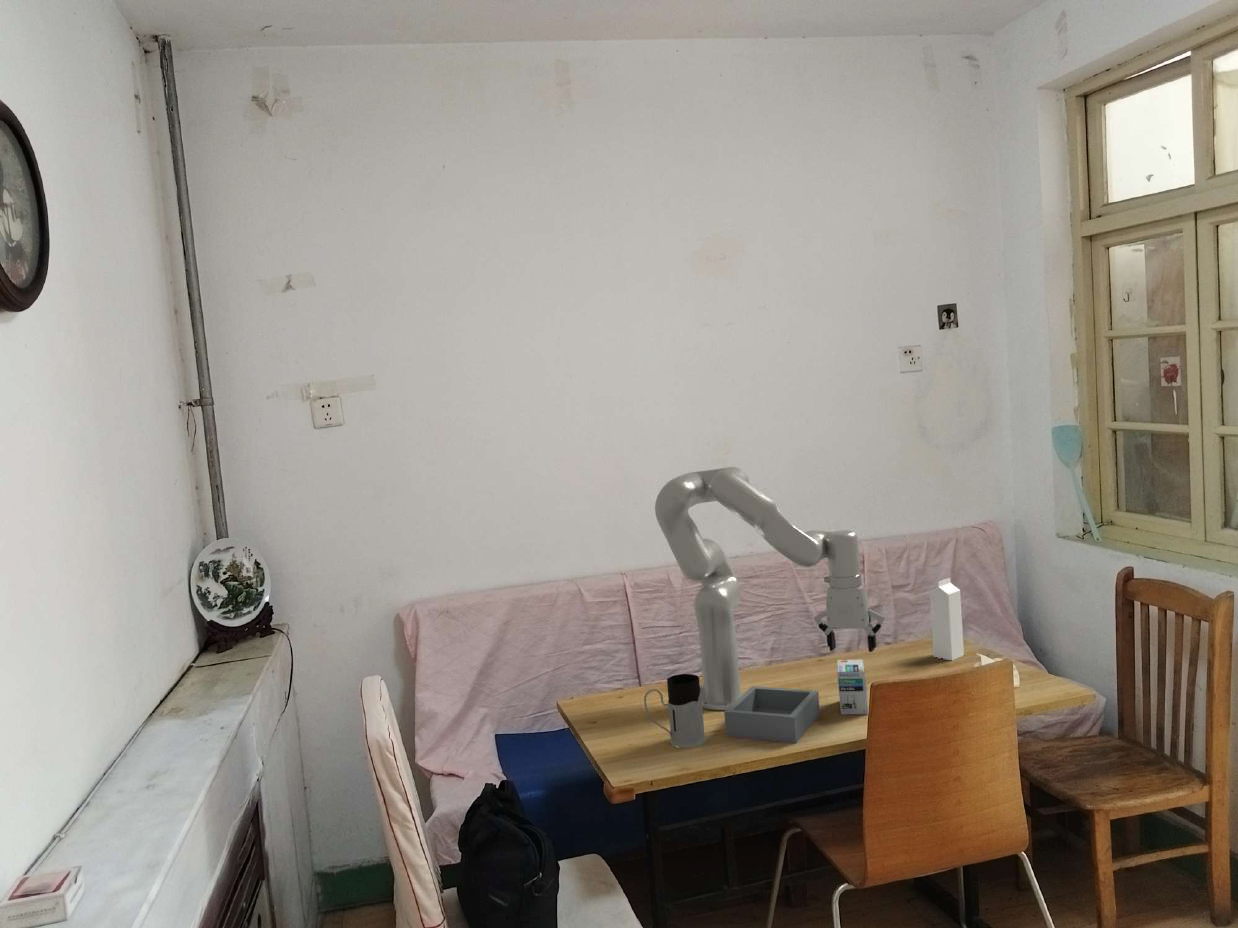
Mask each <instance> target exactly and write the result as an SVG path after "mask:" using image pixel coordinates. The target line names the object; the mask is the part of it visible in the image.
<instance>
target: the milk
mask: <svg viewBox="0 0 1238 928" xmlns="http://www.w3.org/2000/svg"><path fill="white" fill-rule="evenodd" d="M961 595H962V594H961V589H959V588H958V587H957V586H955V585H954V584H953V583H952V582H951V577H948V578H945V579H941V580H939V581H938V582H937V587H935V588H934V589H932V590H931V591H929V601H930V602H929V603H930V616H931V617H930V619H931V630H932V631H931V635H932V637H931V638H932V649H933V650H932V651H933V653H932V654H933V658H935V657H937V658H936V659H941V658H943V659H942V660H948V661H951V660H952V661H955V660H957V659H960V658H962V657H964V656H965V652H964V651H965V650H964V637H963V636H964V633H963V616H962V615H963V613H962V599H961V597H962V596H961ZM963 655H964V656H963Z"/></svg>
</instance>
